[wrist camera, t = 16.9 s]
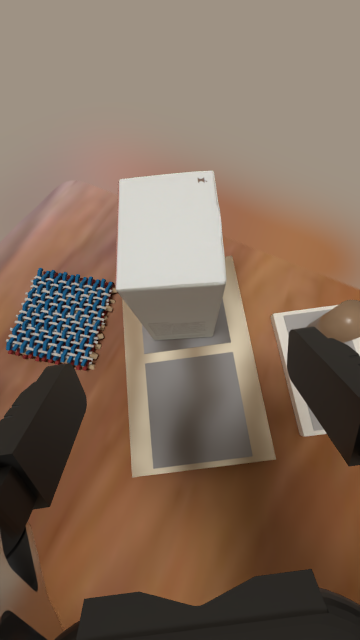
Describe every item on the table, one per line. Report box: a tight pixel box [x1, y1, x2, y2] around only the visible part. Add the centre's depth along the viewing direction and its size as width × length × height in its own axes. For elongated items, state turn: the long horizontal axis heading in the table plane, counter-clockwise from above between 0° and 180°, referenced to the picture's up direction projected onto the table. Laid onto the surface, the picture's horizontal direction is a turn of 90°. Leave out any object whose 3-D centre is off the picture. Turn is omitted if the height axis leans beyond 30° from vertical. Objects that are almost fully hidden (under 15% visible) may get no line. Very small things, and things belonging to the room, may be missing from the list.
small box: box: [115, 171, 226, 340], centre depth 21 cm, size 8×6×13 cm
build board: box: [122, 256, 276, 477], centre depth 26 cm, size 13×21×1 cm, turn 7°
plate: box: [271, 300, 360, 437], centre depth 22 cm, size 8×12×7 cm, turn 7°
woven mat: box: [6, 268, 117, 371], centre depth 28 cm, size 10×11×2 cm
